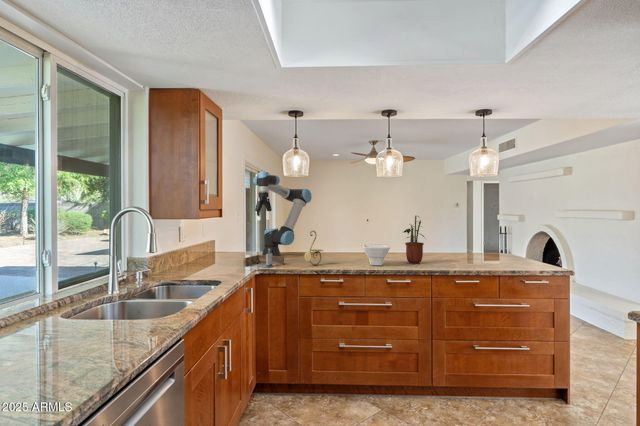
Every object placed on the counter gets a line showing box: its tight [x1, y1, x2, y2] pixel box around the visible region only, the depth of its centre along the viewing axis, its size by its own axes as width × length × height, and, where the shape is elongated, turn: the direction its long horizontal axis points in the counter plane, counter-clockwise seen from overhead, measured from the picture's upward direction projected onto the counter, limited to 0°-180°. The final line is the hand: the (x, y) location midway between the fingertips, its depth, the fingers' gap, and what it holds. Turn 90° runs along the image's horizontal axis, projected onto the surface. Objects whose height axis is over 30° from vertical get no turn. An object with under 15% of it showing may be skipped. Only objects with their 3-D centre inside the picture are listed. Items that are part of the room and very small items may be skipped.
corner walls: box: [243, 254, 285, 267], centre depth 273 cm, size 18×22×6 cm
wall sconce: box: [304, 230, 325, 266], centre depth 274 cm, size 14×10×25 cm
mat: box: [262, 264, 275, 269], centre depth 269 cm, size 10×13×1 cm
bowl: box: [362, 244, 391, 266], centre depth 272 cm, size 19×19×14 cm
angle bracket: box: [256, 253, 273, 268], centre depth 269 cm, size 9×6×9 cm, turn 67°
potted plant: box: [402, 215, 426, 265], centre depth 278 cm, size 17×16×35 cm
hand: (263, 219), depth 293 cm, fingers open, 13 cm apart
